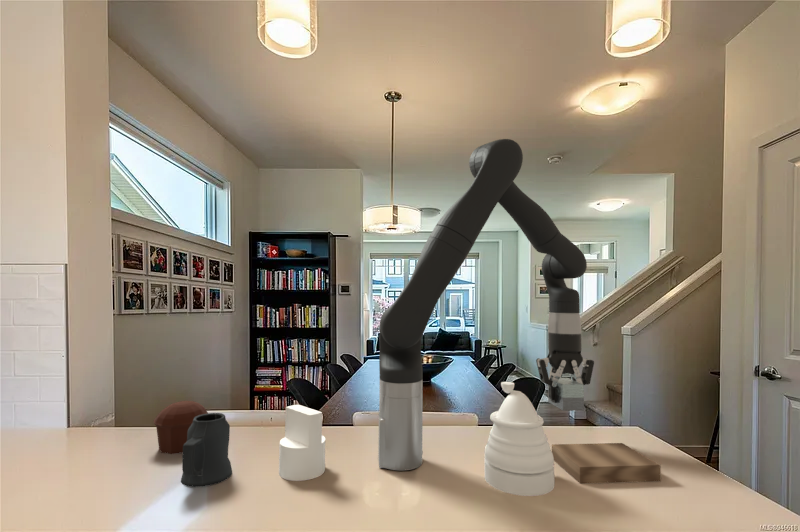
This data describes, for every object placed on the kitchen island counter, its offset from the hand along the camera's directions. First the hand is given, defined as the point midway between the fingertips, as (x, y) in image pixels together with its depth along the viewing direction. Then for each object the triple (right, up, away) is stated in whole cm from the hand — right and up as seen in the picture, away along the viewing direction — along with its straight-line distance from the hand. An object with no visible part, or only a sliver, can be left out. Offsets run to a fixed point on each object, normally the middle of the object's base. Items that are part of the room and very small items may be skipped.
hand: (565, 401), depth 100 cm
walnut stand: (+1, -9, -16) cm, 18 cm away
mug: (-78, -8, -22) cm, 81 cm away
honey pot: (-17, -8, -21) cm, 28 cm away
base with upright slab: (-60, -8, -17) cm, 63 cm away
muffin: (-91, -9, -5) cm, 91 cm away
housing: (0, -1, 0) cm, 1 cm away
